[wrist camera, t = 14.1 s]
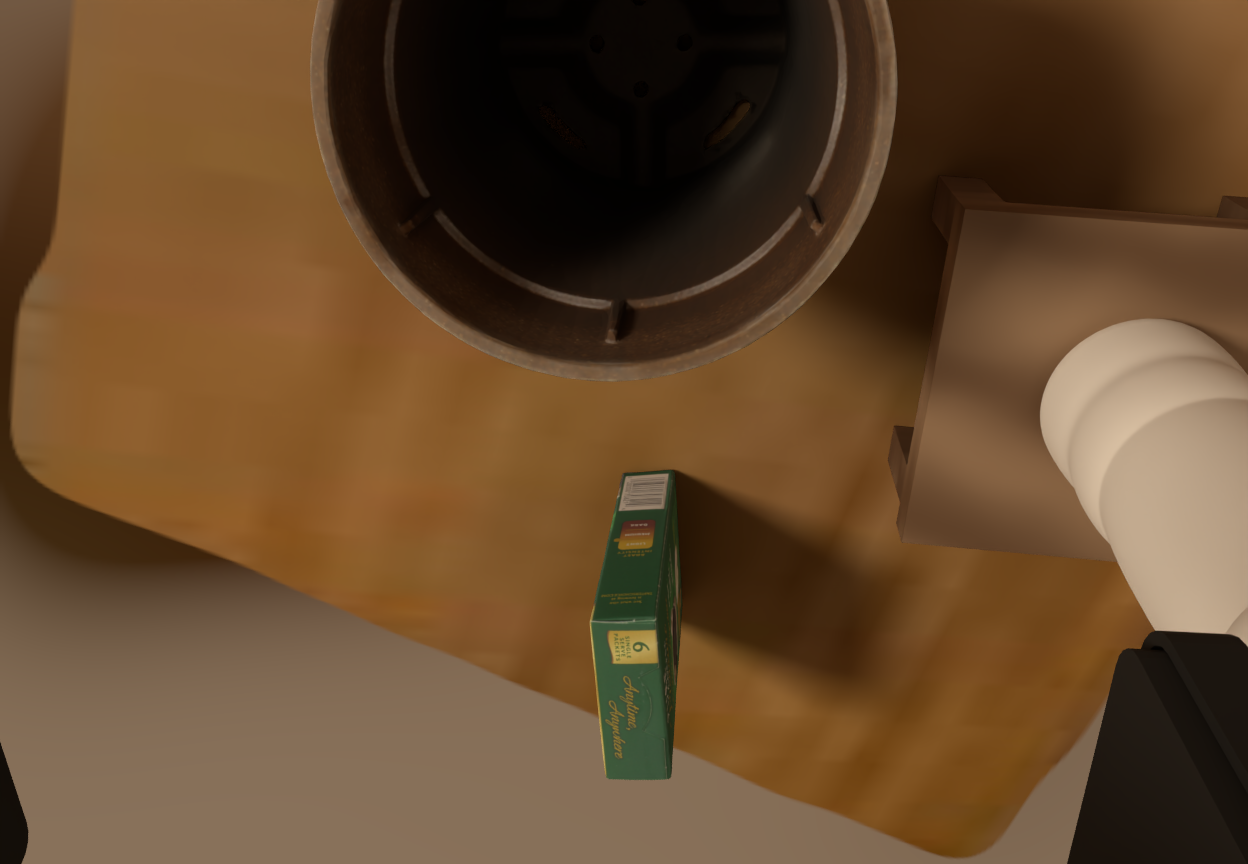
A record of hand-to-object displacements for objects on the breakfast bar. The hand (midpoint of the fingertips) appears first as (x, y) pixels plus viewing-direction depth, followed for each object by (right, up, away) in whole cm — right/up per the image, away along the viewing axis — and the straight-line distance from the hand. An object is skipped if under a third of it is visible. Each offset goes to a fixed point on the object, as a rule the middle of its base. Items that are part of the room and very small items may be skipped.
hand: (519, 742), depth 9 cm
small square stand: (+20, +7, +39) cm, 45 cm away
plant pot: (+2, +18, +36) cm, 40 cm away
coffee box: (+2, -3, +46) cm, 46 cm away
